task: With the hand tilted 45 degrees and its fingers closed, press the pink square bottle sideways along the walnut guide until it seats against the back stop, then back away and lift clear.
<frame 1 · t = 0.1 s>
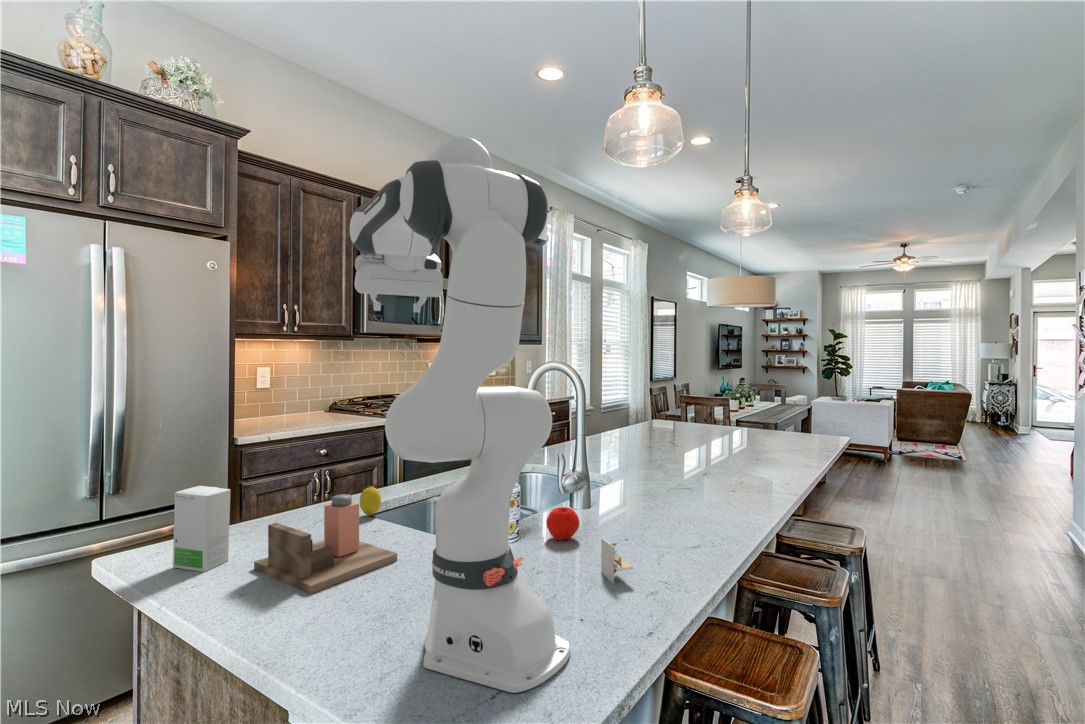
hand: (396, 310, 134), 54 cm above the countertop, tool tilted 30°, fingers open, 8 cm apart
architectural model: (611, 580, 109), on the countertop
apple: (562, 539, 131), on the countertop
guide: (314, 569, 112), on the countertop
pink square bottle: (341, 523, 118), point 8 cm above the countertop, slide at 8.0 cm
lemon: (370, 516, 149), on the countertop
skincare box: (202, 565, 115), on the countertop
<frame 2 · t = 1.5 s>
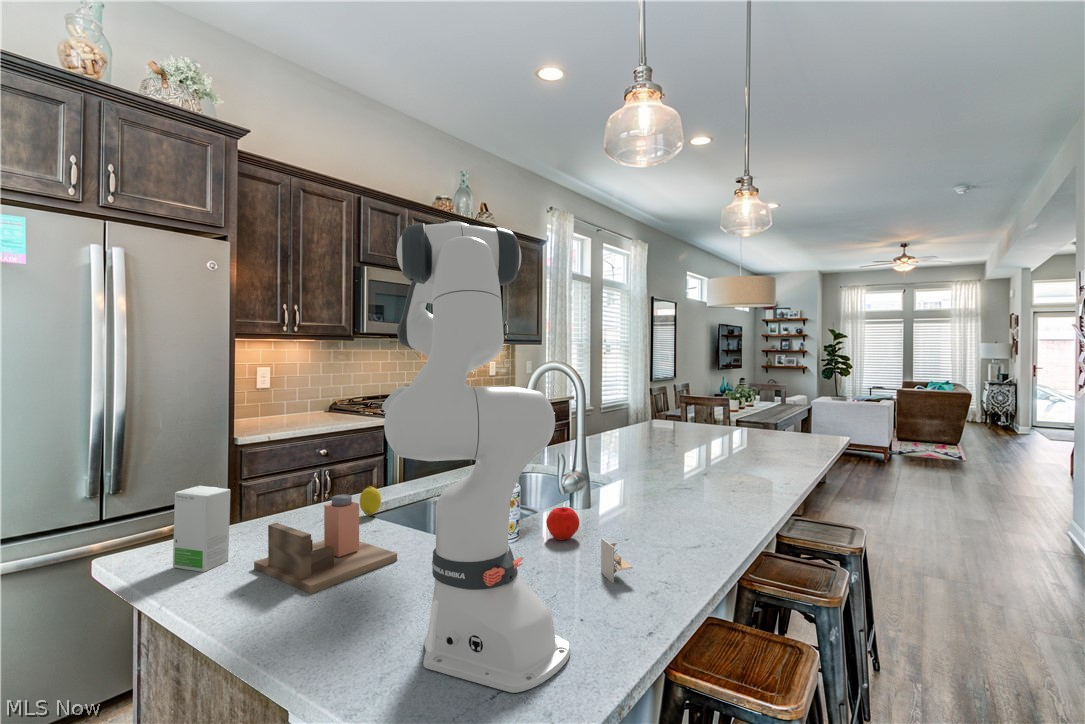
hand: (399, 430, 130), 26 cm above the countertop, tool tilted 45°, fingers open, 8 cm apart
nothing on the countertop moved.
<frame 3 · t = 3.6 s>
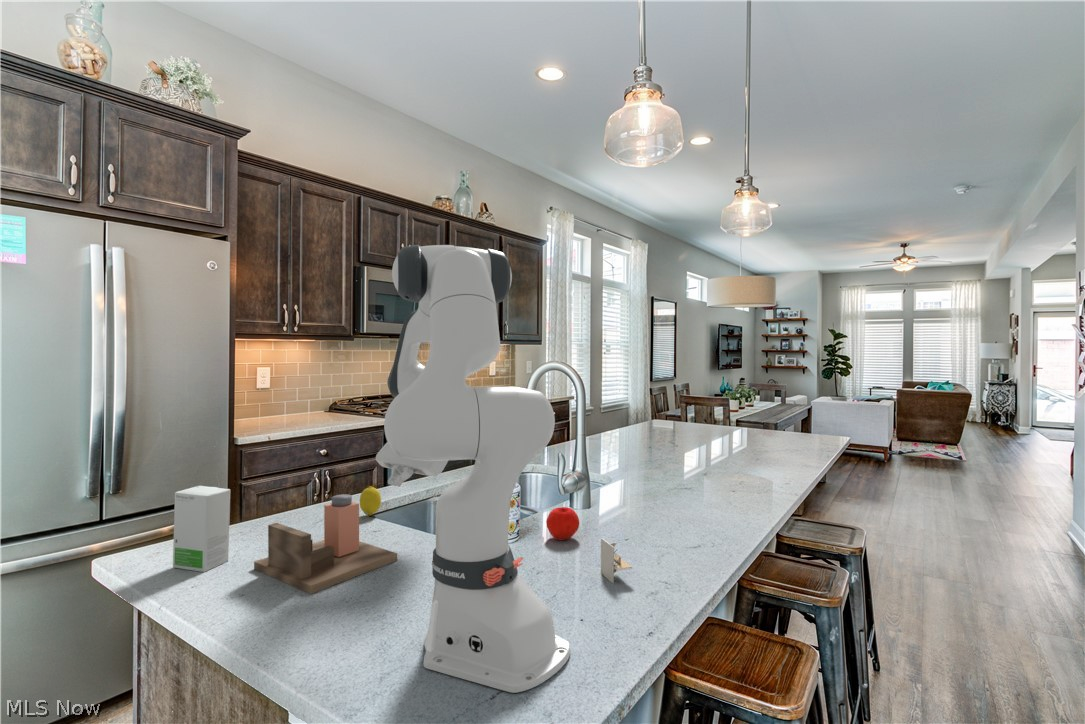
hand: (393, 484, 129), 13 cm above the countertop, tool tilted 45°, fingers closed
nothing on the countertop moved.
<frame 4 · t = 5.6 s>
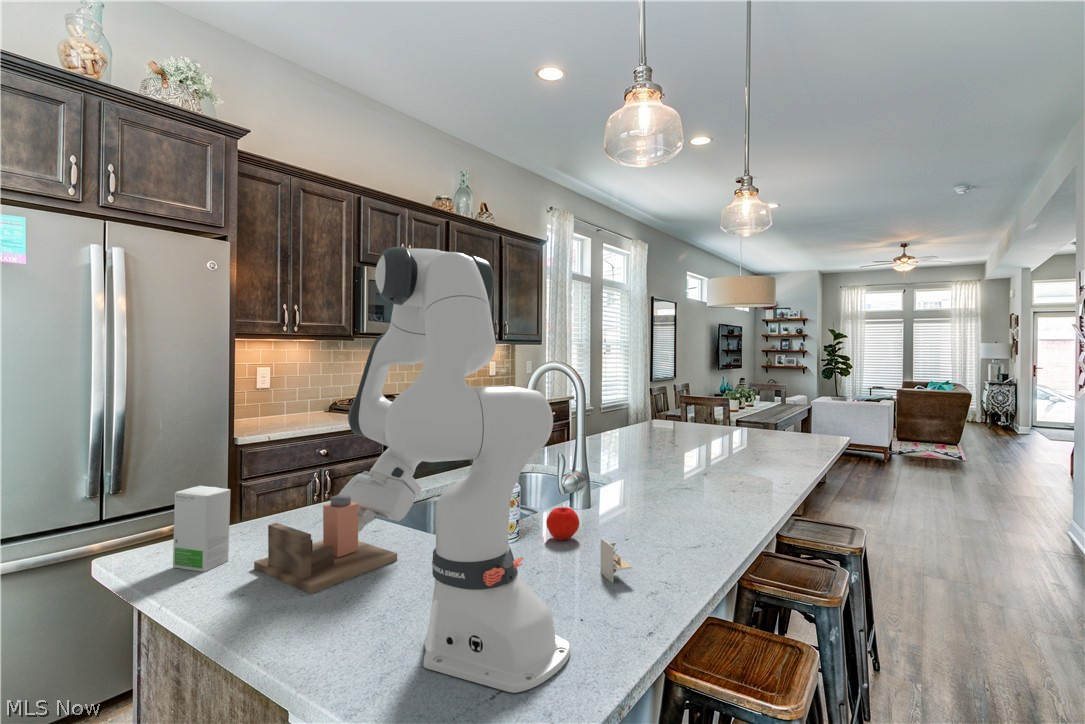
hand: (353, 528, 120), 6 cm above the countertop, tool tilted 45°, fingers closed, pressing on pink square bottle
pink square bottle: (340, 524, 117), point 8 cm above the countertop, slide at 7.8 cm, touching gripper
everything else where it was.
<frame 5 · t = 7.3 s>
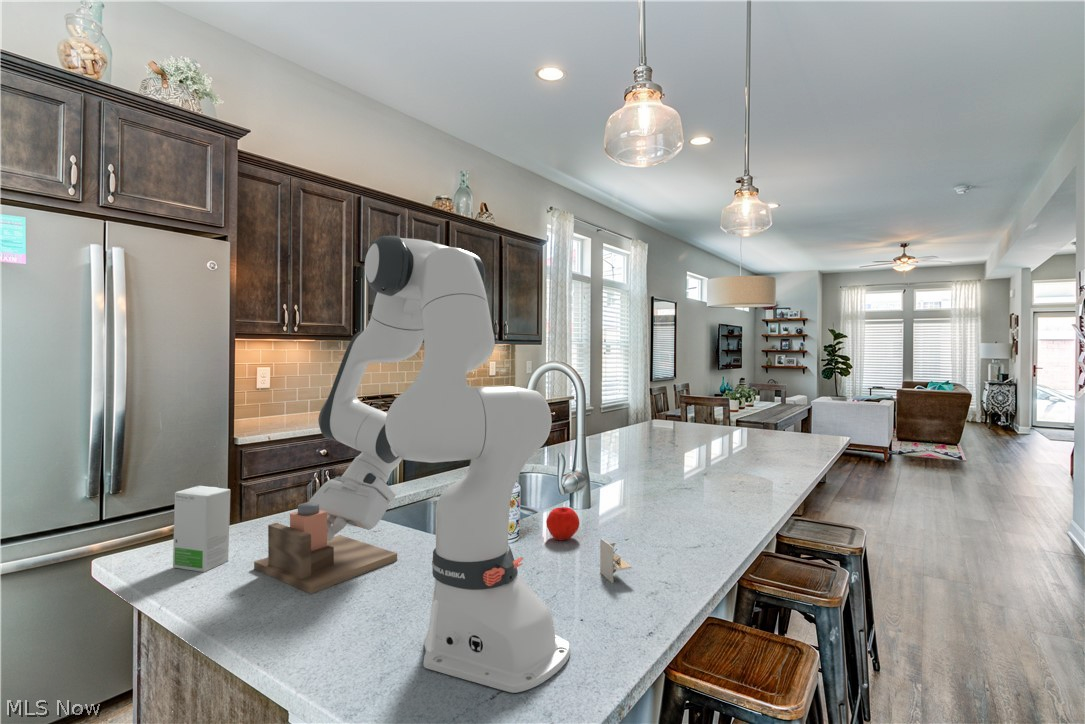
hand: (322, 538, 114), 6 cm above the countertop, tool tilted 45°, fingers closed, pressing on pink square bottle
pink square bottle: (308, 533, 111), point 8 cm above the countertop, slide at 0.3 cm, touching gripper
everything else where it was.
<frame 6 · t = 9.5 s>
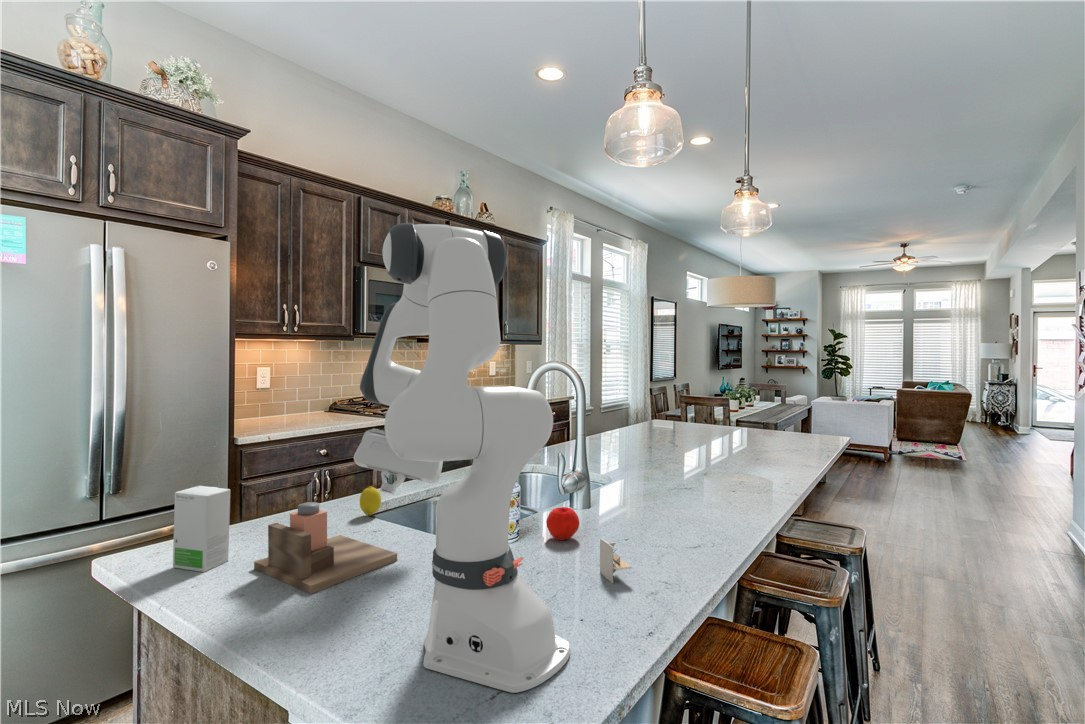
hand: (386, 492, 124), 13 cm above the countertop, tool tilted 35°, fingers closed
pink square bottle: (308, 533, 111), point 8 cm above the countertop, slide at 0.3 cm
everything else where it was.
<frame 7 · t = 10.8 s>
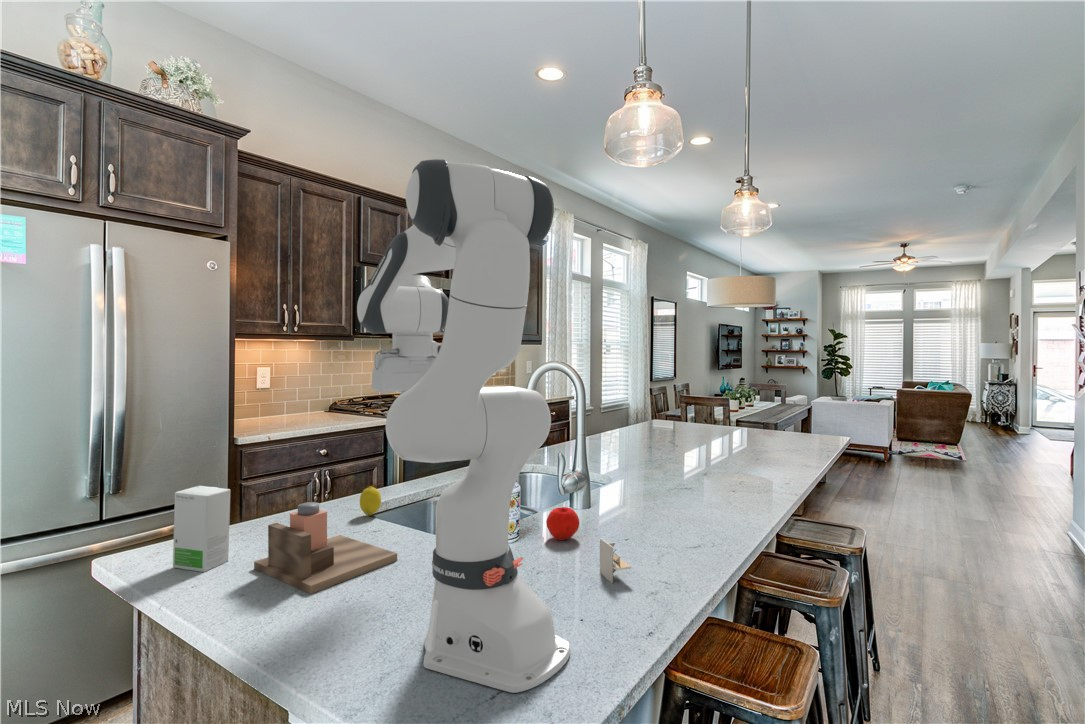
hand: (412, 410, 124), 31 cm above the countertop, tool pointing down, fingers closed
nothing on the countertop moved.
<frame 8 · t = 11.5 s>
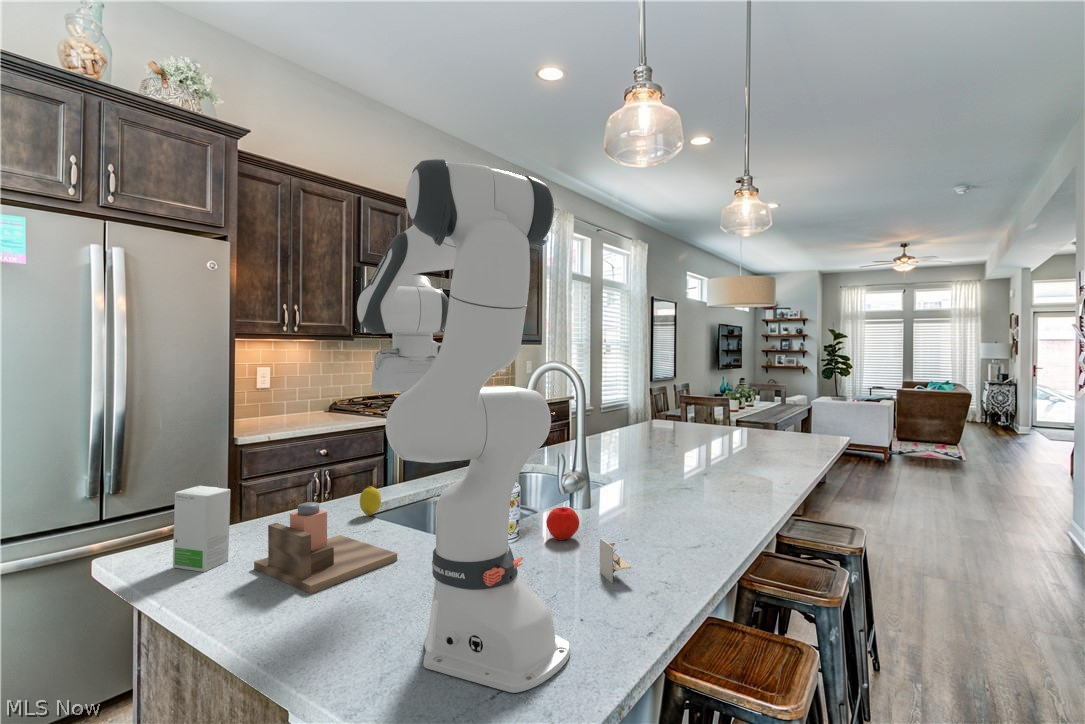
hand: (412, 410, 124), 31 cm above the countertop, tool pointing down, fingers closed
nothing on the countertop moved.
at the end: pink square bottle slide at 0.3 cm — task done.
